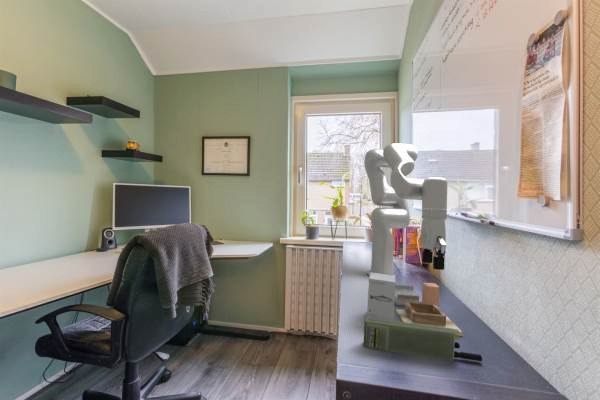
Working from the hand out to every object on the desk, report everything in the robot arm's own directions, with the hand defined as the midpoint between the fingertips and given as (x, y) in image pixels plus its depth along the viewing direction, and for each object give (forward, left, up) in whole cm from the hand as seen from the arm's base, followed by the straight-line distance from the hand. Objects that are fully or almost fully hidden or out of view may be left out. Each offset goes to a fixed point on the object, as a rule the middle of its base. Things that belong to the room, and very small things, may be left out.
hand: (432, 265), depth 88 cm
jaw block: (-1, 0, -14) cm, 14 cm away
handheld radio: (+30, -13, -14) cm, 35 cm away
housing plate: (-2, -8, -13) cm, 16 cm away
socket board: (+13, -6, -14) cm, 20 cm away
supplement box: (+14, -19, -14) cm, 27 cm away
